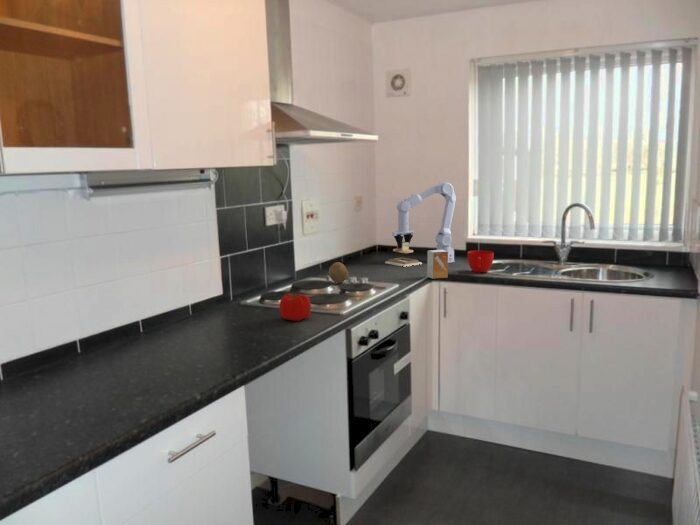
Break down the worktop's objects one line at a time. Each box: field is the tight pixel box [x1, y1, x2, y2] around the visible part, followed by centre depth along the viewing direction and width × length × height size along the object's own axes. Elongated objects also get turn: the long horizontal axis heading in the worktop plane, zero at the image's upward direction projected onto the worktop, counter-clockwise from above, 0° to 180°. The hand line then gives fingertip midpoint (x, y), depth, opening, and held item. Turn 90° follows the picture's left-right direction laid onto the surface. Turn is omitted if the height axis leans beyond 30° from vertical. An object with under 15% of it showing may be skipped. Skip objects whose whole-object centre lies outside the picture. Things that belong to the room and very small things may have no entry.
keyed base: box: [384, 257, 423, 268], centre depth 319 cm, size 16×13×2 cm
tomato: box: [278, 293, 312, 322], centre depth 206 cm, size 11×12×9 cm
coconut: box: [328, 261, 350, 284], centre depth 268 cm, size 9×9×10 cm
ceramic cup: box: [467, 249, 495, 274], centre depth 289 cm, size 13×17×10 cm
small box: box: [426, 249, 449, 280], centre depth 278 cm, size 8×6×13 cm
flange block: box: [392, 241, 414, 254], centre depth 318 cm, size 10×6×5 cm, turn 35°
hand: (403, 247), depth 318 cm, fingers closed on flange block, 5 cm apart
